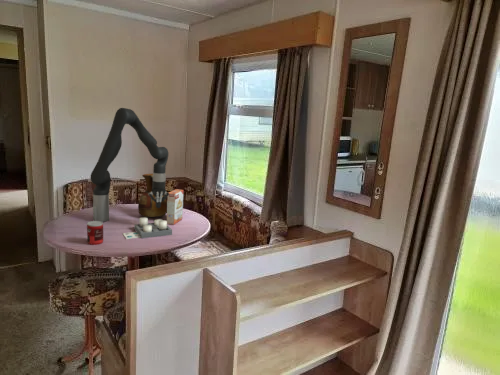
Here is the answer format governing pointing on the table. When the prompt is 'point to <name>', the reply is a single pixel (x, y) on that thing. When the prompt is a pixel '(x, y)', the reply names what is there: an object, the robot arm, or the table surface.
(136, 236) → the card
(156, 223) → the button
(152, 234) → the board
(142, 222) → the button
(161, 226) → the button
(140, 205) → the ceramic pitcher
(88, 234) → the canned food
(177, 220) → the cracker box
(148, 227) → the button
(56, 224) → the table surface
